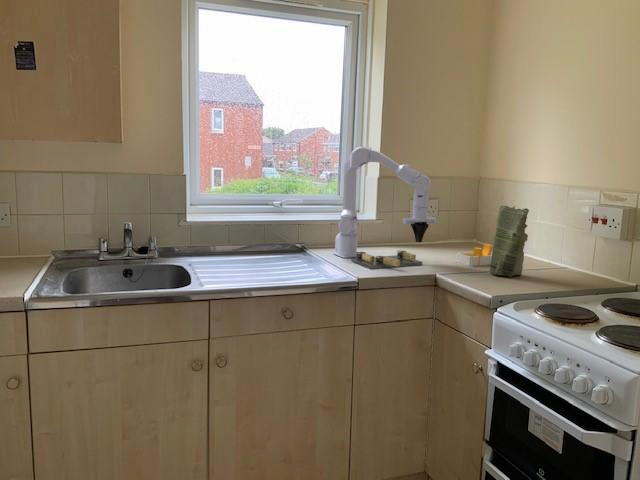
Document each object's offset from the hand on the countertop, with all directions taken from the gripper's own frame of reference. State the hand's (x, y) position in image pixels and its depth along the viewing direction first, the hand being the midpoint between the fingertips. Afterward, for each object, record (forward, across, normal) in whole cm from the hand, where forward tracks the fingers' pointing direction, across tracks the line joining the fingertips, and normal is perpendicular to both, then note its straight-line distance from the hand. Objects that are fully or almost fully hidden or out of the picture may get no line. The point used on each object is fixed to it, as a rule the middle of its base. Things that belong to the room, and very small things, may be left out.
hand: (418, 241), depth 221 cm
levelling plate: (+8, -13, +2) cm, 15 cm away
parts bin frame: (+8, +24, -8) cm, 26 cm away
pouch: (+8, +18, -29) cm, 35 cm away
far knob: (+7, -4, +1) cm, 8 cm away
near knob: (+6, -17, -5) cm, 19 cm away
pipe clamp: (+8, +24, -8) cm, 26 cm away
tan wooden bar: (+6, -21, +4) cm, 23 cm away
